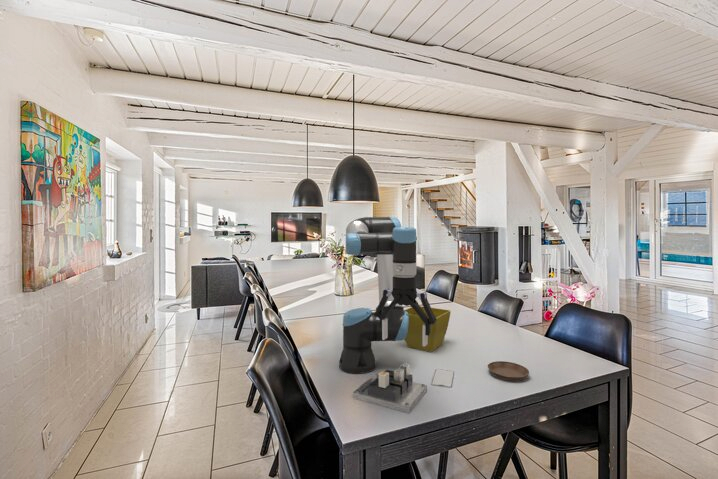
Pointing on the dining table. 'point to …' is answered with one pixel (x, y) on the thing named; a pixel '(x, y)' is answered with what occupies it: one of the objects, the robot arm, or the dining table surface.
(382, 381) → the block with orange pad
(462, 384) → the dining table surface
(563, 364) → the dining table surface
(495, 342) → the dining table surface
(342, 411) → the dining table surface
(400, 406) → the panel
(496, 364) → the saucer
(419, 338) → the flower pot
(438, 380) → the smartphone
